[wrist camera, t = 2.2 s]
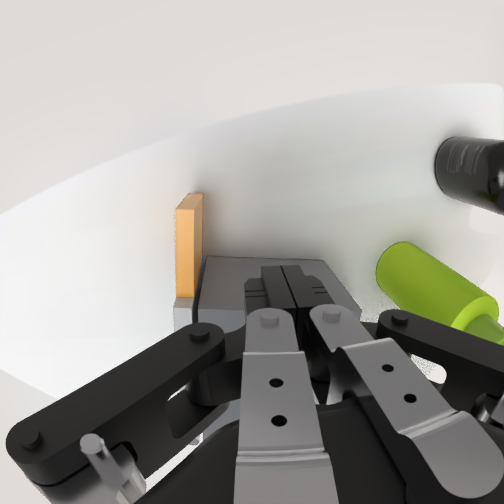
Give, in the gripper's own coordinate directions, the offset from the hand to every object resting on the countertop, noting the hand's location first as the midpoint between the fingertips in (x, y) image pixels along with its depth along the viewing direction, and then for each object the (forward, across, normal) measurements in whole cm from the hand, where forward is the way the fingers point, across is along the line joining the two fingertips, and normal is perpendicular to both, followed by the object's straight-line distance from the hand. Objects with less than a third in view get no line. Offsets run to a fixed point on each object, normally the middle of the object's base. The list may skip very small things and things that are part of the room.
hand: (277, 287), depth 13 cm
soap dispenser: (+16, -15, +7) cm, 23 cm away
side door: (+16, +6, +9) cm, 19 cm away
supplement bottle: (+17, -22, -4) cm, 28 cm away
